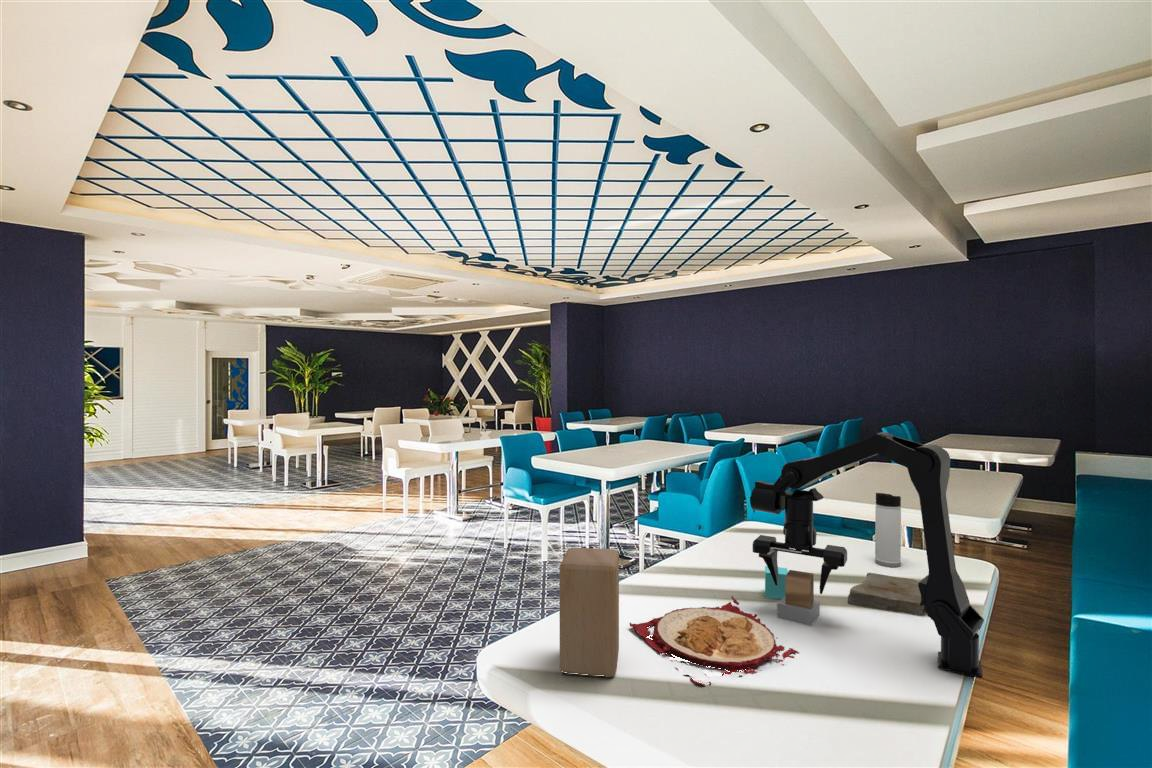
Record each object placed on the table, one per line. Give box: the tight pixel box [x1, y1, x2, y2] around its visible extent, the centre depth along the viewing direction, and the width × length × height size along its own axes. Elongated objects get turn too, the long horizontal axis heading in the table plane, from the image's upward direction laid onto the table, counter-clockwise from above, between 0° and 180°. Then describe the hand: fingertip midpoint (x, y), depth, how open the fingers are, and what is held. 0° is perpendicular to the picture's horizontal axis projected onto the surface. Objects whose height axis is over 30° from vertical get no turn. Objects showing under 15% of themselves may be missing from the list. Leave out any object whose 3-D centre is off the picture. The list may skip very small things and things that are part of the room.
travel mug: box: [874, 492, 902, 568], centre depth 158 cm, size 6×7×20 cm
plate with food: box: [629, 595, 800, 686], centre depth 112 cm, size 25×26×4 cm
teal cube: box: [764, 565, 789, 600], centre depth 136 cm, size 5×5×6 cm
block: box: [559, 547, 620, 677], centre depth 103 cm, size 10×10×20 cm
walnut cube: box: [785, 569, 815, 609], centre depth 123 cm, size 5×5×6 cm
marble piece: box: [847, 572, 925, 616], centre depth 133 cm, size 17×15×4 cm
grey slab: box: [776, 596, 821, 627], centre depth 124 cm, size 7×7×4 cm
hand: (798, 589), depth 124 cm, fingers open, 9 cm apart
